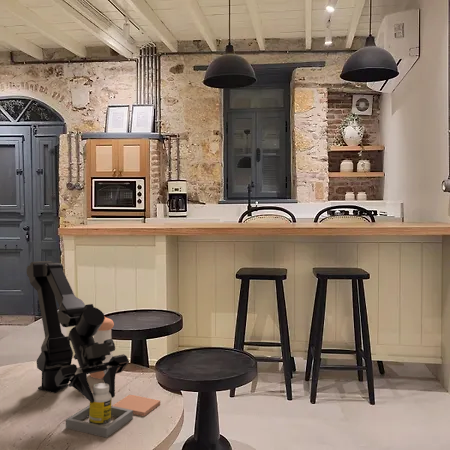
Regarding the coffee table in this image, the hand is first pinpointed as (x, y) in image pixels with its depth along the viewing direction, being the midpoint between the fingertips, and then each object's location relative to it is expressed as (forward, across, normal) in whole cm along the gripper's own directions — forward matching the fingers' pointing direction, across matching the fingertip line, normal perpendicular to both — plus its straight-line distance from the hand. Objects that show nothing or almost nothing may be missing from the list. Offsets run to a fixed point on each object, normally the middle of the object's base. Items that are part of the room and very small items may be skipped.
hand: (103, 399), depth 133 cm
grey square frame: (+4, 0, +6) cm, 7 cm away
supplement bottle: (+4, 0, +6) cm, 7 cm away
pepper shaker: (-19, +17, +28) cm, 38 cm away
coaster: (+1, +13, +8) cm, 15 cm away
